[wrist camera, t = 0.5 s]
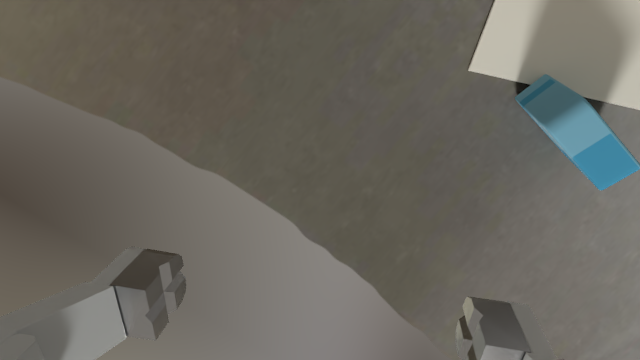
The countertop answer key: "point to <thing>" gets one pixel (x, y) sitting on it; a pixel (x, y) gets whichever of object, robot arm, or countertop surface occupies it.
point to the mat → (565, 46)
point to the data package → (578, 131)
